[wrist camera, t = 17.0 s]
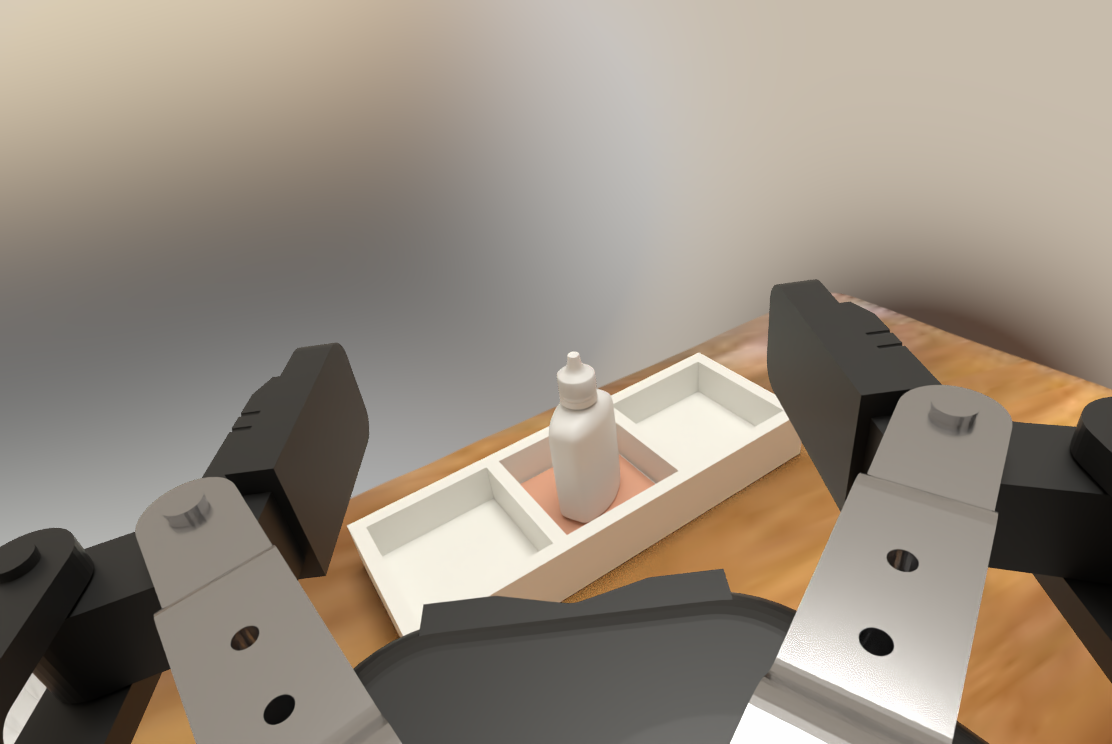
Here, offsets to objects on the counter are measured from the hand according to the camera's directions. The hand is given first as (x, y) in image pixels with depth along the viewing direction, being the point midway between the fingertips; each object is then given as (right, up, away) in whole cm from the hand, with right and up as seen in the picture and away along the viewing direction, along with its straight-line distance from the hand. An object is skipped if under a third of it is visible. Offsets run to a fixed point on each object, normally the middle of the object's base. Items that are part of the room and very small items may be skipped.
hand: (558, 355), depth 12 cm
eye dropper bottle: (+3, -9, +35) cm, 36 cm away
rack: (+2, -10, +35) cm, 37 cm away
